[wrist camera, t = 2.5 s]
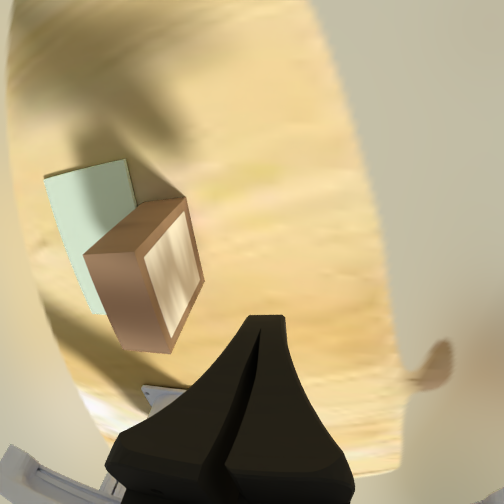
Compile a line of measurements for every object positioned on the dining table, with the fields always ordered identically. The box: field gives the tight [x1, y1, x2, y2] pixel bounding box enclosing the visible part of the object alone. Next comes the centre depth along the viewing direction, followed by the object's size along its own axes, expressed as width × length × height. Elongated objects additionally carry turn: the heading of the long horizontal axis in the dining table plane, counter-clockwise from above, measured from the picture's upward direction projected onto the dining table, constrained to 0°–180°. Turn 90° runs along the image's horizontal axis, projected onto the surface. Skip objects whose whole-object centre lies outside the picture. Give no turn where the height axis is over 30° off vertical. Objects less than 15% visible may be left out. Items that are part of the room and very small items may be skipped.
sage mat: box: [44, 159, 137, 315], centre depth 22 cm, size 12×8×1 cm, turn 8°
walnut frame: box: [83, 197, 205, 354], centre depth 18 cm, size 6×3×7 cm, turn 8°
